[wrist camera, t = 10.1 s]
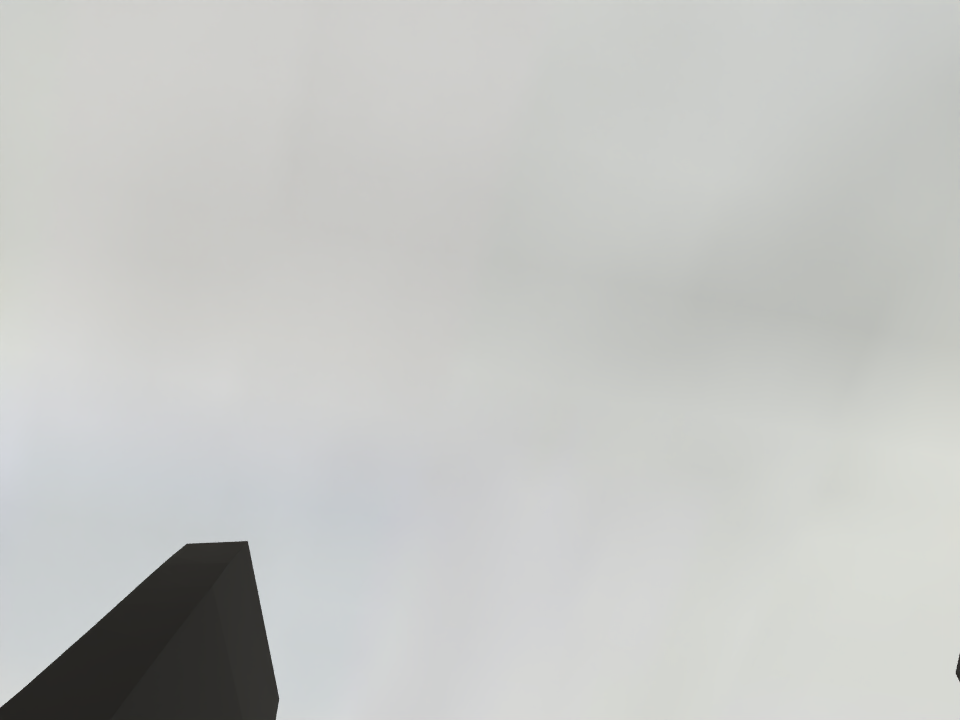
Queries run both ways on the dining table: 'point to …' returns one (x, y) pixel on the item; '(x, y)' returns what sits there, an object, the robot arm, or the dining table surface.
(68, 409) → the dining table surface
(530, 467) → the dining table surface
